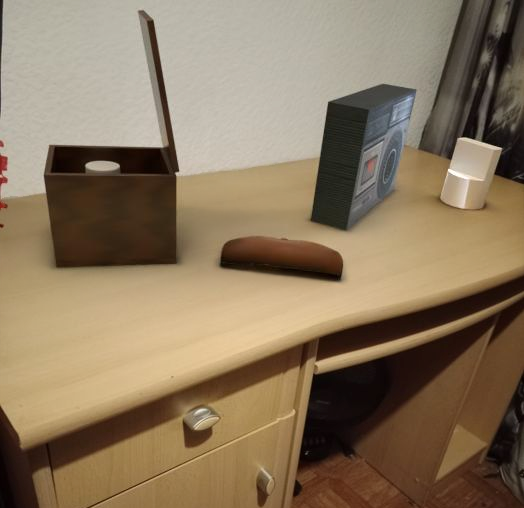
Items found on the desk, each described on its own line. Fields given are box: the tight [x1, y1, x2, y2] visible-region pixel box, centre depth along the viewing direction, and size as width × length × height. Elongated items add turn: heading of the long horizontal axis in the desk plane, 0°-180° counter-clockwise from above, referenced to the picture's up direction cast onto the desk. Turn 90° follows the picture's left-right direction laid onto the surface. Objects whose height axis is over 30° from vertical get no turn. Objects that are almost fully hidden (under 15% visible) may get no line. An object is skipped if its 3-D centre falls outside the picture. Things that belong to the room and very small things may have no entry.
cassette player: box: [310, 83, 418, 231], centre depth 102 cm, size 29×7×20 cm, turn 152°
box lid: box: [137, 9, 180, 174], centre depth 72 cm, size 17×14×1 cm
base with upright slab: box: [440, 137, 503, 211], centre depth 112 cm, size 9×9×12 cm
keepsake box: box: [43, 144, 178, 268], centre depth 79 cm, size 17×14×13 cm
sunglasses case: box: [220, 235, 344, 278], centre depth 81 cm, size 18×7×7 cm, turn 86°
